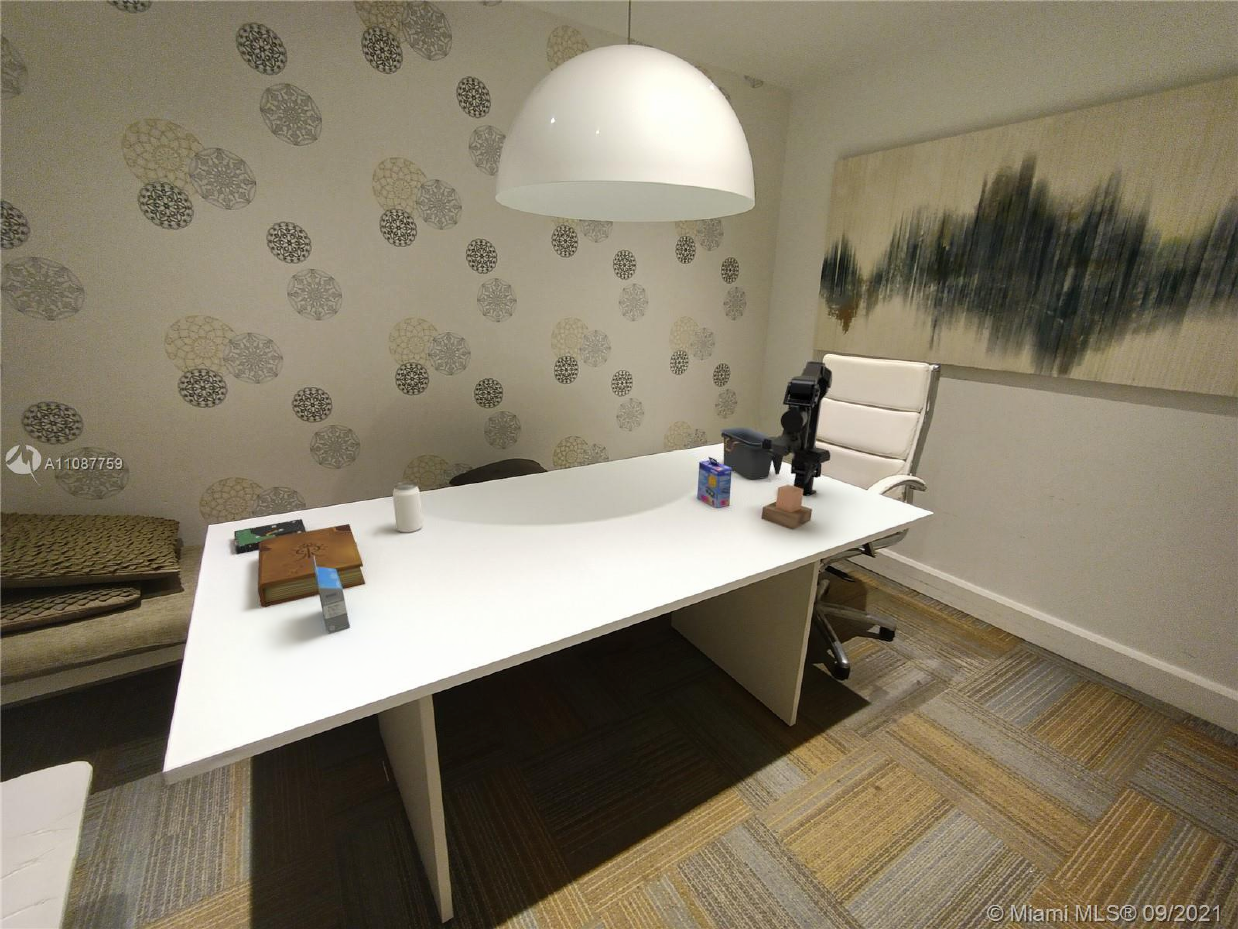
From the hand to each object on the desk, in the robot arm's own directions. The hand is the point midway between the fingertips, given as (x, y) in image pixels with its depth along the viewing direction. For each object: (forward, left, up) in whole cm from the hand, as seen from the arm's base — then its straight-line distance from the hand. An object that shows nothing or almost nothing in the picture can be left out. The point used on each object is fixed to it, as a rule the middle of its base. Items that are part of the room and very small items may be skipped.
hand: (790, 478), depth 151 cm
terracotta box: (0, +1, -9) cm, 9 cm away
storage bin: (-25, -35, -13) cm, 45 cm away
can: (+89, -55, -13) cm, 106 cm away
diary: (+114, -44, -13) cm, 123 cm away
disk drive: (+119, -67, -13) cm, 137 cm away
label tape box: (+114, -21, -13) cm, 117 cm away
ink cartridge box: (+7, -22, -13) cm, 26 cm away
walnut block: (0, 0, -13) cm, 13 cm away
